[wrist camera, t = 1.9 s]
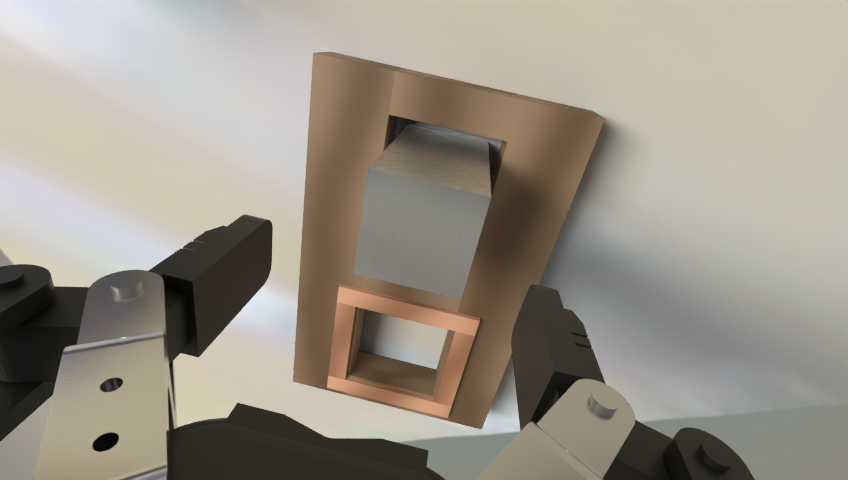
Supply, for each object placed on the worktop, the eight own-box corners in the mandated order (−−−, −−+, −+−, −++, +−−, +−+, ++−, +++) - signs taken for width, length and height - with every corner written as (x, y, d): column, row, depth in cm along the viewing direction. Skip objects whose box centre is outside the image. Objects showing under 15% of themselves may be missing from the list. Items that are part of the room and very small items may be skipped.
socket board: (591, 110, 21) (606, 120, 18) (481, 401, 31) (481, 432, 28) (331, 51, 21) (310, 52, 19) (306, 357, 31) (291, 384, 29)
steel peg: (488, 142, 22) (491, 197, 14) (468, 215, 24) (461, 299, 16) (409, 123, 22) (367, 168, 14) (396, 198, 24) (353, 273, 16)
